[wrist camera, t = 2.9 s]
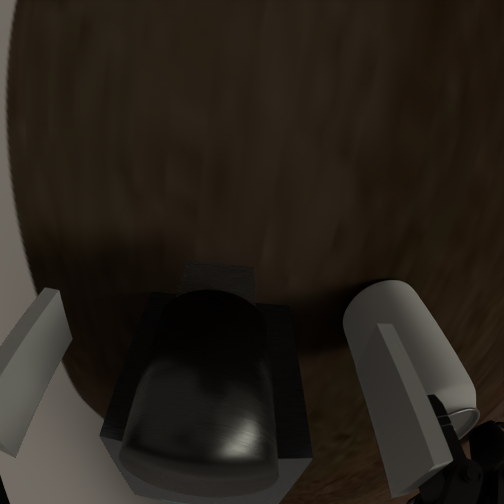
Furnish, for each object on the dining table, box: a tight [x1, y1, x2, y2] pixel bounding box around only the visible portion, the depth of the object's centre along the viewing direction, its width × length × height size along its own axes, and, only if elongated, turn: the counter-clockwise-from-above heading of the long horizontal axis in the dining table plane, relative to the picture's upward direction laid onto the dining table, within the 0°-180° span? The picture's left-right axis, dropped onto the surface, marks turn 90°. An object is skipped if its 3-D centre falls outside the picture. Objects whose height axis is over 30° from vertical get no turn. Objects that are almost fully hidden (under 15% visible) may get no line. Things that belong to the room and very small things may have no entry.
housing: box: [100, 292, 313, 504], centre depth 19 cm, size 10×10×12 cm
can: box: [343, 280, 480, 440], centre depth 18 cm, size 6×6×12 cm
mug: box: [469, 420, 504, 467], centre depth 34 cm, size 8×12×10 cm
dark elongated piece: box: [119, 261, 279, 497], centre depth 16 cm, size 26×4×9 cm, turn 173°
